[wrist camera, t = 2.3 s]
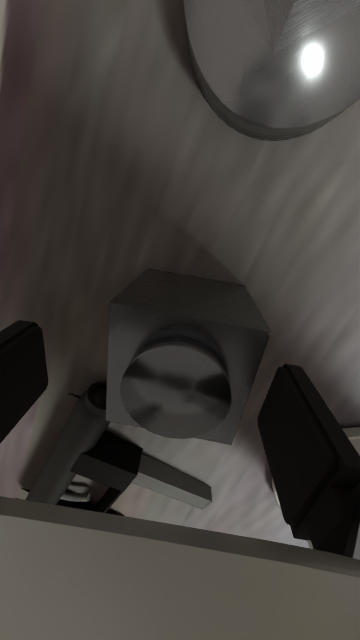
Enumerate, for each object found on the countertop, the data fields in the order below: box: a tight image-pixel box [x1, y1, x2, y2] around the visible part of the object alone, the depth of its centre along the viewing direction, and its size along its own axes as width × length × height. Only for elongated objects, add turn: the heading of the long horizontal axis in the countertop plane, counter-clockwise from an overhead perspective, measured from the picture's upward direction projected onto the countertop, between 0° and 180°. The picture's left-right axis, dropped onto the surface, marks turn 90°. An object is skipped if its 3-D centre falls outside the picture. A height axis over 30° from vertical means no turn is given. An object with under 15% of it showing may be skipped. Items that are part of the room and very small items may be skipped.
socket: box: [106, 269, 271, 445], centre depth 13 cm, size 6×6×8 cm
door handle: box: [15, 382, 212, 515], centre depth 23 cm, size 3×20×16 cm
